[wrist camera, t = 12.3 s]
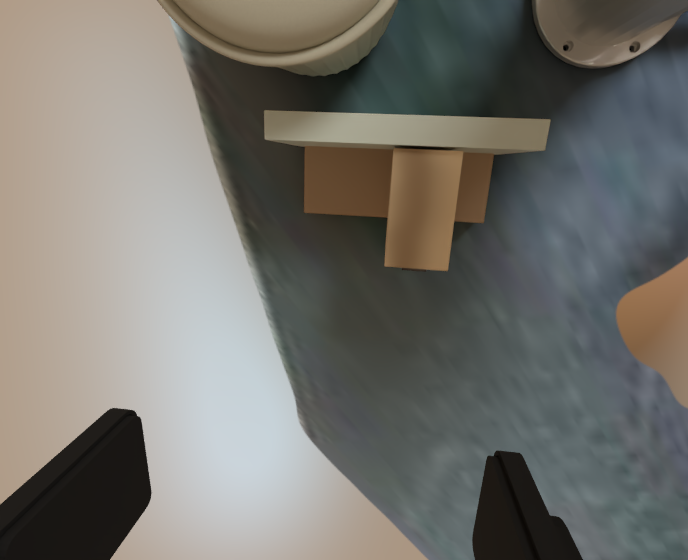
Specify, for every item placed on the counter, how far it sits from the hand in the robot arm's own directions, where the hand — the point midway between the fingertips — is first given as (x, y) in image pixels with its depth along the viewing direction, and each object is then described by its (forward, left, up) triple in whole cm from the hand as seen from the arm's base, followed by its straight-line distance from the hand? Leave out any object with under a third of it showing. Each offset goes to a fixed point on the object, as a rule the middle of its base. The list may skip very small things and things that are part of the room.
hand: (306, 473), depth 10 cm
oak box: (-4, -5, -31) cm, 31 cm away
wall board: (-2, -7, -33) cm, 34 cm away
